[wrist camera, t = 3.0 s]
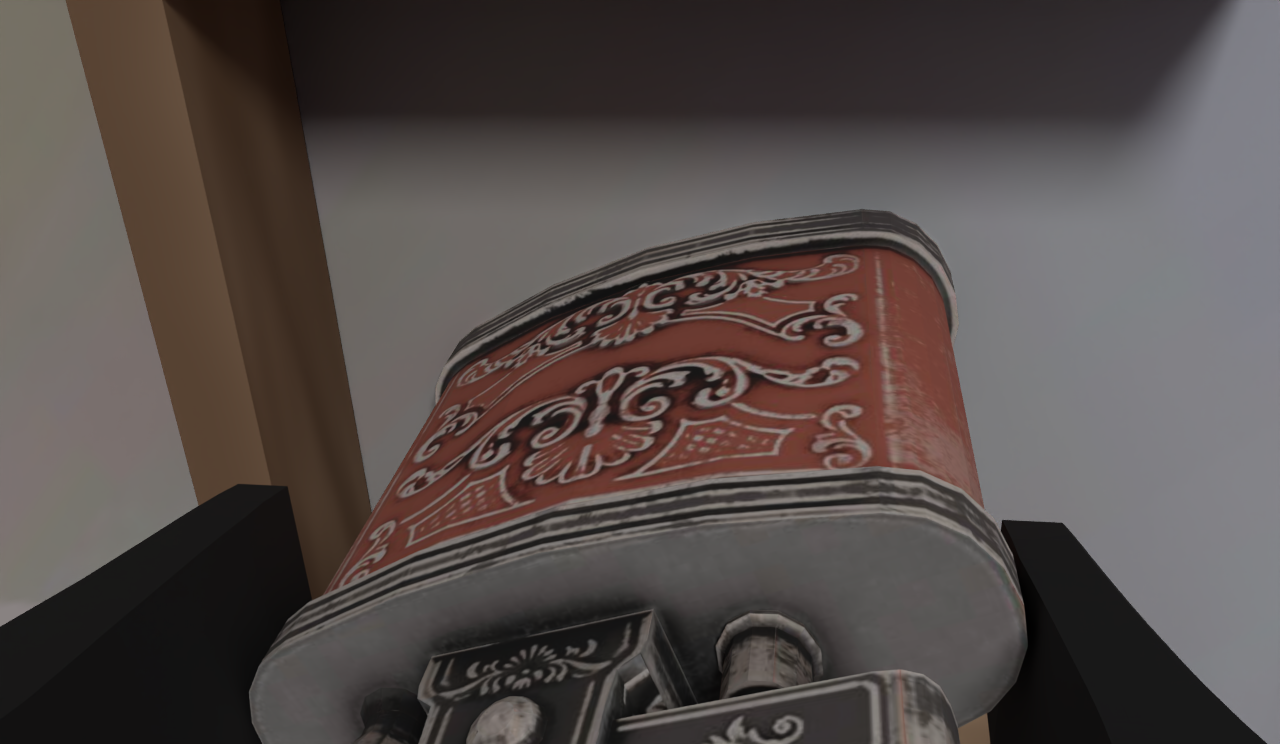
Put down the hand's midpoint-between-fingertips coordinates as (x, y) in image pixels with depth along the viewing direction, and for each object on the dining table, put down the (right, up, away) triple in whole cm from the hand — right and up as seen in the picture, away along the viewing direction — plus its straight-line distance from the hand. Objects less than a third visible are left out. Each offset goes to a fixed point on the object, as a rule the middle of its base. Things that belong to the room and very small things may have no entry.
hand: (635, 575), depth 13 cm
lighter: (+1, +3, +5) cm, 6 cm away
